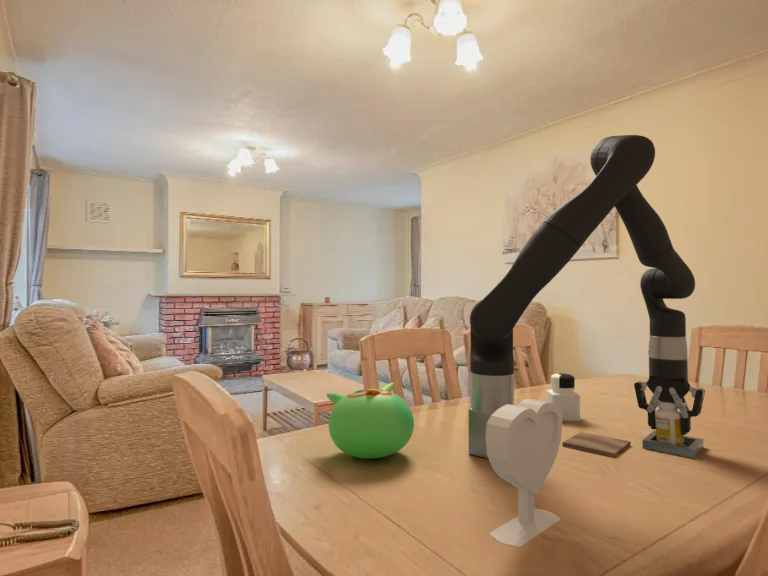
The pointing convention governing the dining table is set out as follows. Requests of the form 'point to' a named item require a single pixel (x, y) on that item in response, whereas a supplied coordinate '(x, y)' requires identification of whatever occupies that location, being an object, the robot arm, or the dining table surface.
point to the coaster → (597, 444)
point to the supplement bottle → (668, 423)
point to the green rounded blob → (370, 422)
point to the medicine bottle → (565, 396)
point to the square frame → (674, 446)
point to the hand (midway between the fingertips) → (668, 431)
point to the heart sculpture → (524, 462)
